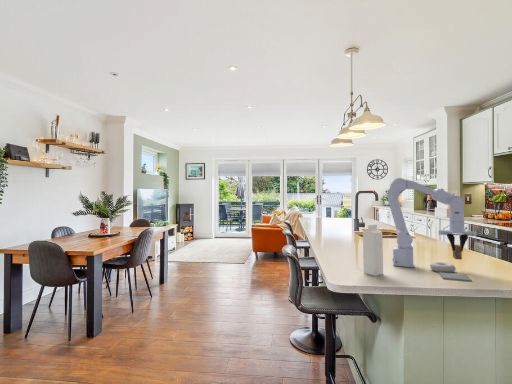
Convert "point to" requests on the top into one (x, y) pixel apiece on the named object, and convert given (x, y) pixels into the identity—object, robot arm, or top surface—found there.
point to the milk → (373, 251)
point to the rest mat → (454, 276)
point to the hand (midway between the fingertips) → (457, 250)
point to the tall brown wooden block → (457, 252)
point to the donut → (442, 267)
